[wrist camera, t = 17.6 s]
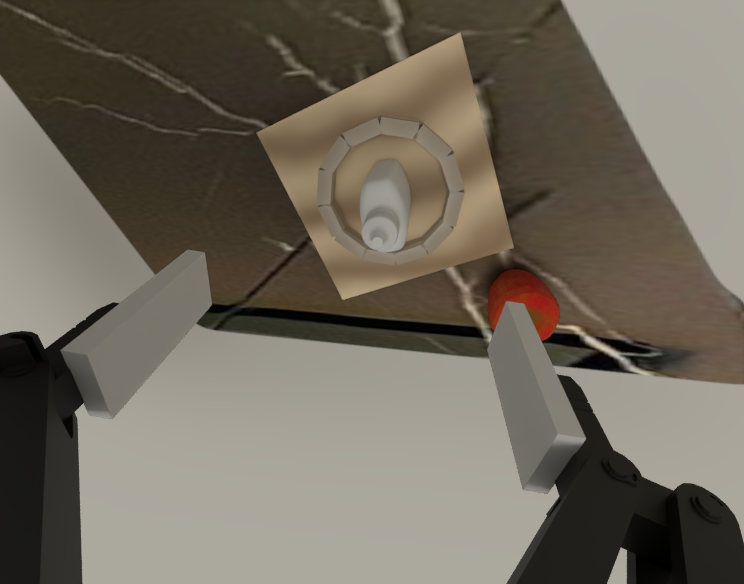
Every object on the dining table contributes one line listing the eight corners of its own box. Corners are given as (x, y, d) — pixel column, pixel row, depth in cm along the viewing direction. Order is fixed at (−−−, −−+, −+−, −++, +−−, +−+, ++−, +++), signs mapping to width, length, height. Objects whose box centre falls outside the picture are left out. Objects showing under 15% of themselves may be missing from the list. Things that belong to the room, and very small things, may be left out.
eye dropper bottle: (359, 211, 34) (332, 269, 24) (377, 151, 31) (355, 187, 21) (403, 226, 34) (396, 290, 24) (425, 168, 31) (427, 212, 21)
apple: (471, 270, 38) (482, 309, 32) (532, 248, 36) (556, 285, 30) (490, 316, 40) (503, 360, 34) (547, 298, 39) (573, 342, 32)
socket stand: (264, 129, 33) (246, 135, 30) (457, 35, 28) (463, 29, 25) (346, 290, 41) (339, 309, 38) (509, 239, 36) (518, 256, 32)
